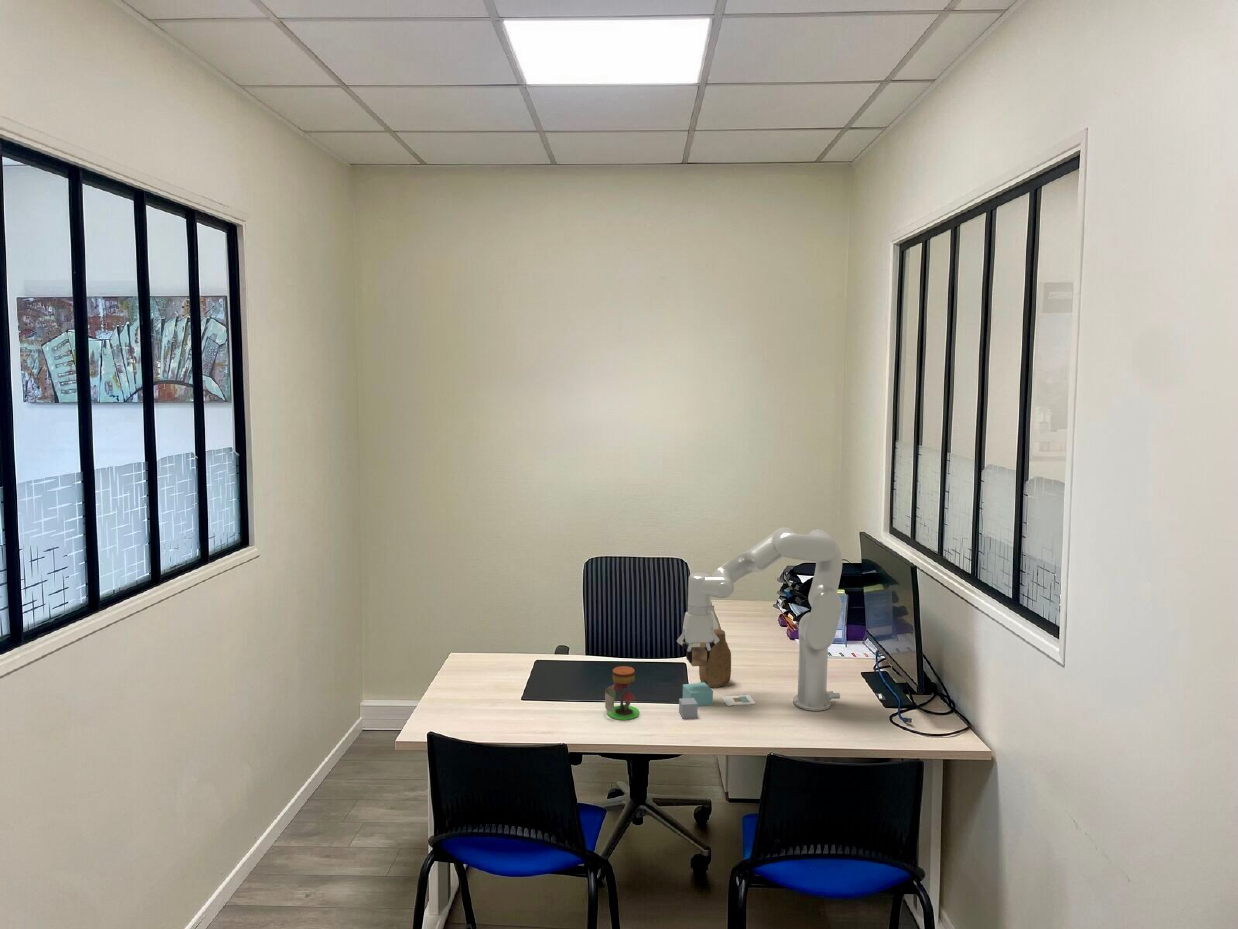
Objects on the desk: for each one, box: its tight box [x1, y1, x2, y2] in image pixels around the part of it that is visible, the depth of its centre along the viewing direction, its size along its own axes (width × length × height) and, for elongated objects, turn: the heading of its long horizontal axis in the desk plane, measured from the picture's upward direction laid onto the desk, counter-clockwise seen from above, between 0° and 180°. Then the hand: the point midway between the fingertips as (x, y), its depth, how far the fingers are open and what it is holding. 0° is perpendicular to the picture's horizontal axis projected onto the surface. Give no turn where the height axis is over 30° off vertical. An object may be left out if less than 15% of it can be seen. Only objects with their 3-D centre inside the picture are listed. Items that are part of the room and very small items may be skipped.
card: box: [721, 694, 757, 707], centre depth 285 cm, size 10×7×1 cm
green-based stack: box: [604, 665, 640, 721], centre depth 274 cm, size 12×13×15 cm
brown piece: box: [698, 628, 732, 689], centre depth 299 cm, size 11×8×20 cm
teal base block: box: [682, 682, 714, 707], centre depth 285 cm, size 8×8×5 cm
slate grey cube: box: [678, 697, 698, 720], centre depth 273 cm, size 5×5×5 cm
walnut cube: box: [689, 646, 707, 667], centre depth 283 cm, size 5×5×5 cm
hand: (697, 660), depth 284 cm, fingers closed on walnut cube, 5 cm apart
